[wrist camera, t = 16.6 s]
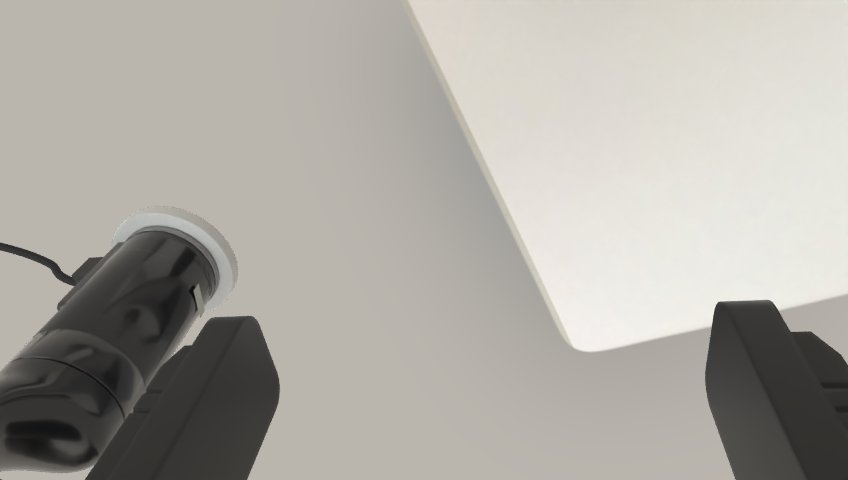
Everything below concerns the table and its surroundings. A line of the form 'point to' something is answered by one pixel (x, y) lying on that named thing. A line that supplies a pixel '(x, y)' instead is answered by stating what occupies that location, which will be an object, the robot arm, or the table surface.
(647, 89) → the table surface
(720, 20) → the table surface
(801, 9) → the table surface
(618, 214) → the table surface
